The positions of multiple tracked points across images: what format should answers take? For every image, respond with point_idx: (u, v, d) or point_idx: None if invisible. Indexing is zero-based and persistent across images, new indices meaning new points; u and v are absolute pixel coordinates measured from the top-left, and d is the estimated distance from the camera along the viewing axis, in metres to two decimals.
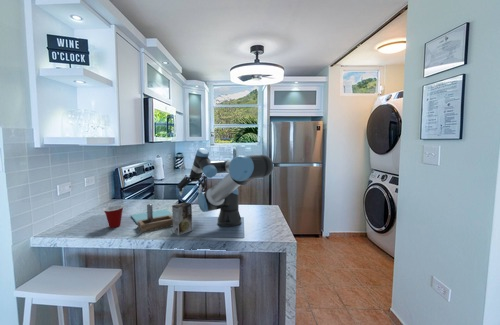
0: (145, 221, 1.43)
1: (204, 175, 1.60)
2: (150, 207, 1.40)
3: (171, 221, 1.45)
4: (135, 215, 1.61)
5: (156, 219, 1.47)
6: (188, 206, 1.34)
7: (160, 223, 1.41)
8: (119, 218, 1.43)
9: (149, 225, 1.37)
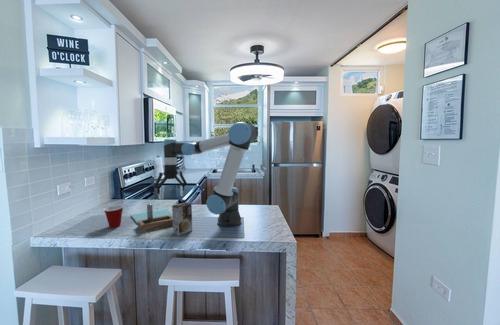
0: (145, 221, 1.43)
1: (180, 171, 1.51)
2: (150, 207, 1.40)
3: (171, 221, 1.45)
4: (135, 215, 1.61)
5: (156, 219, 1.47)
6: (188, 206, 1.34)
7: (160, 223, 1.41)
8: (119, 218, 1.43)
9: (149, 225, 1.37)
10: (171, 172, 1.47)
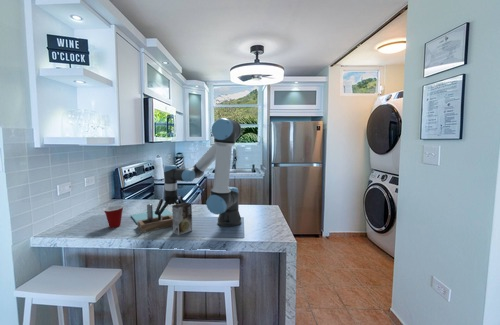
0: (145, 221, 1.43)
1: (180, 196, 1.52)
2: (150, 207, 1.40)
3: (171, 221, 1.45)
4: (135, 215, 1.61)
5: (156, 219, 1.47)
6: (188, 206, 1.34)
7: (160, 223, 1.41)
8: (119, 218, 1.43)
9: (149, 225, 1.37)
10: (171, 198, 1.48)
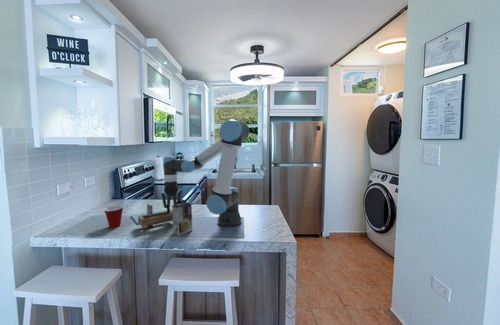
0: (145, 216, 1.43)
1: None
2: (150, 207, 1.40)
3: (171, 216, 1.45)
4: (135, 215, 1.61)
5: (156, 214, 1.47)
6: (188, 206, 1.34)
7: (160, 218, 1.41)
8: (119, 218, 1.43)
9: (149, 220, 1.37)
10: (171, 189, 1.48)
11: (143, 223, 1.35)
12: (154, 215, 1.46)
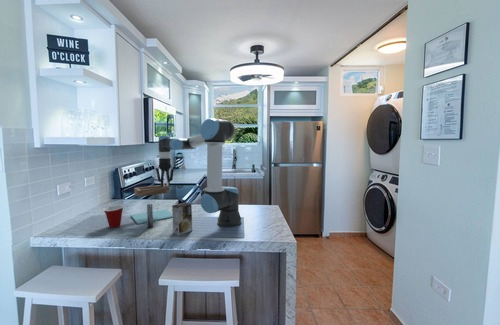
0: (141, 188, 1.60)
1: (173, 167, 1.68)
2: (150, 207, 1.40)
3: (164, 189, 1.61)
4: (135, 215, 1.61)
5: (151, 187, 1.64)
6: (188, 206, 1.34)
7: (154, 190, 1.57)
8: (119, 218, 1.43)
9: (144, 191, 1.54)
10: (165, 165, 1.64)
11: (139, 193, 1.52)
12: (149, 188, 1.63)
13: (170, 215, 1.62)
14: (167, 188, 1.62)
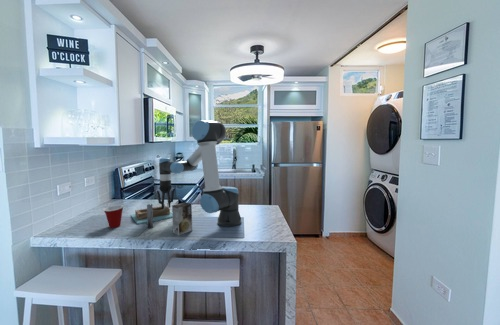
0: (142, 211, 1.61)
1: (174, 188, 1.70)
2: (150, 207, 1.40)
3: (165, 211, 1.63)
4: None
5: None
6: (188, 206, 1.34)
7: (155, 212, 1.59)
8: (119, 218, 1.43)
9: (145, 214, 1.55)
10: (166, 187, 1.66)
11: (140, 216, 1.53)
12: None
13: (170, 215, 1.62)
14: (168, 210, 1.64)
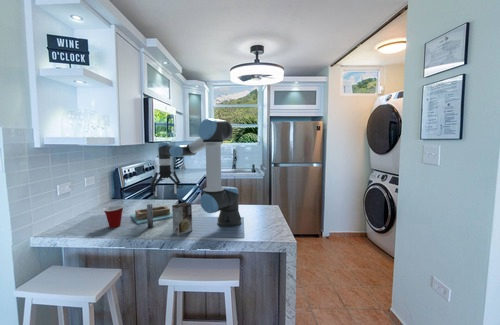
0: (142, 211, 1.61)
1: None
2: (150, 207, 1.40)
3: (165, 211, 1.63)
4: None
5: None
6: (188, 206, 1.34)
7: (155, 212, 1.59)
8: (119, 218, 1.43)
9: (145, 214, 1.55)
10: (165, 172, 1.64)
11: (140, 216, 1.53)
12: None
13: (170, 215, 1.62)
14: (168, 210, 1.64)
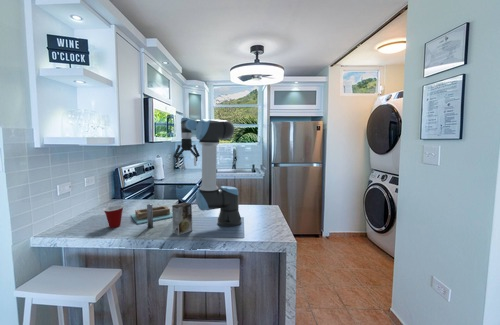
0: (142, 211, 1.61)
1: None
2: (150, 207, 1.40)
3: (165, 211, 1.63)
4: None
5: None
6: (188, 206, 1.34)
7: (155, 212, 1.59)
8: (119, 218, 1.43)
9: (145, 214, 1.55)
10: (187, 145, 1.80)
11: (140, 216, 1.53)
12: None
13: (170, 215, 1.62)
14: (168, 210, 1.64)
